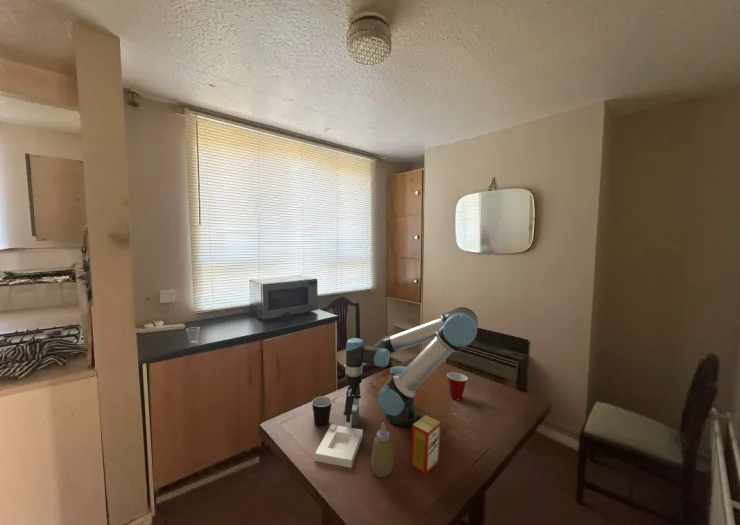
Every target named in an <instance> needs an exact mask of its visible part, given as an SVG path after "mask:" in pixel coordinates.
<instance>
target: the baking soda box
mask: <svg viewBox="0 0 740 525" xmlns="http://www.w3.org/2000/svg"><path fill="white" fill-rule="evenodd" d="M411 426H412V427H411V441H410V442H411V443H410V465H409V466H410V467H412V468H414V469H416V470H417V471H418V472H420V473H421V474H423V475H424V476H426V475H427V474H428V473H429V472H430V471H431V470H432V469H434V467H435V466H436V465H437V464H438V463H439V462H440V455H441V454H440V453H441V452H440V451H441V437H442V436H441V435H442V434H441V432H442V421H440V420H438V419H437V418H434V417H432V416H430V415H428V414H425V415H424V416H423V417H421V418H420V419H417V420H416V421H415V422H414V423H413V424H411Z"/></svg>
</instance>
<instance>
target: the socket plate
mask: <svg viewBox="0 0 740 525" xmlns="http://www.w3.org/2000/svg"><path fill="white" fill-rule="evenodd" d="M363 437H364V430H363V429H362V428H361V429H359V428H354V427H352V428H349V427H345V426H342V425H337V424H330V426H329V427H328V429H327V431H326V433H325V435H324V437H323V439H322V440H321V442H320V444H319V445H318V448H317V449H316V451H315V453H314V461H315V462H319V463H324V464H327V465H328V464H329V465H335V466H340V467H344V468H350V469H351V468H352V467H353V465H354V461H355V458H356V456H357V453H358V451H359V447H360V445H361V442H362V440H363Z"/></svg>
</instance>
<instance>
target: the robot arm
mask: <svg viewBox="0 0 740 525" xmlns="http://www.w3.org/2000/svg"><path fill="white" fill-rule="evenodd" d="M478 324H479V320H478V316H477V315H476V313H475V312H474V311H473V310H472V309H470V308H468V307H464V306H460V307H456V308H454V309H452V310H450V311H447V312H445V313H442V314H441V315H440V317H439V318H436V319H433V320H429V321H427V322H425V323H422V324H419V325H416V326H414V327H412V328H409V329H407V330H406V329H405V330H404V331H400V332H399V333H395V334H392V335H389V336H384V337H382V338H380V339H379V340H378V341H377V342H376V343H375V344H374V345H373V346H370V345H366V344H365V345H364V340H363V339H362V338H358V337H353V338H349V339H348V340H347V341H346V346H345V364H344V368H345V375H344V378H345V379H344V381H345V384H346V385H348V387H347V390H346V395H345V396H346V397H345V405H344V412H343V415H344V416H345V418H344V419H345V423H344V427H349V428H353V425H352V407H353V405H357V406H358V407H359V408H360V399H361V398H362V395H361V388H360V387H361V386H360V385H361V384H362V382H363V364H367V365H371V366H376V367H382V368H385V367H387V366H388V365H389V363H390V358H391V357H390V356H391V354H394V353H396V352H399V351H402V350H405V349H408V348H411V347H414V346H418V345H420V344H423V343H426V342H428V341H430V342H428V344H427V345H426V346H425V347H424V348H423V349H422V350H421V351H420V353H419V354H418V355H417V356H416V357H414V359H413V360H412V361H411V362H410V363H408V365H407V366H402V365H400V366H399V365H398V366H397V365H396V366H393V367H390V372H389V378H388V379H387V381H386V382H385V384H384V385H383V386H382V388H380V389H379V391H378V393H377V397H376V400H377V404H378V407H379V408H380V410H381V411H382V412H383V413H384V417H385V419H386V420H387V421H388V422H389V423H391V424H393V425H395V426H410V425H413V424H414V423H416V422H417V421H418V411H417V407H416V404H415V396H416V395H417V394H416V390H417V389H418V388H419V387H420V386H421V385H422V384H423V382H425V380H427V379H428V378H429V377H430V375H432V374H433V373H434V372H435V371H436V370H437V368H438V367H439V366H440V365H442V364H443V363H444V362H445V360H447V359H448V357H450V356H451V354H453V353H459V352H460V351H461V350H463V348H465V347H467V346H468V345H471V344H472V342H473V341H474V340H475V339H476V337H477V335H478Z"/></svg>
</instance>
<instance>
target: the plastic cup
mask: <svg viewBox="0 0 740 525" xmlns="http://www.w3.org/2000/svg"><path fill="white" fill-rule="evenodd" d="M446 377H447V380H448V389H449V390H448V391H449V397H450V396H451V397H452V398H453V399H452V398H451V397H450V398H451V399H452V400H454V399H461V400H462V398H463V394H464V390H465V387H466V384H467V381H468V376H466V375H465V374H462V373H459V372H448V373H447V374H446Z"/></svg>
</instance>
